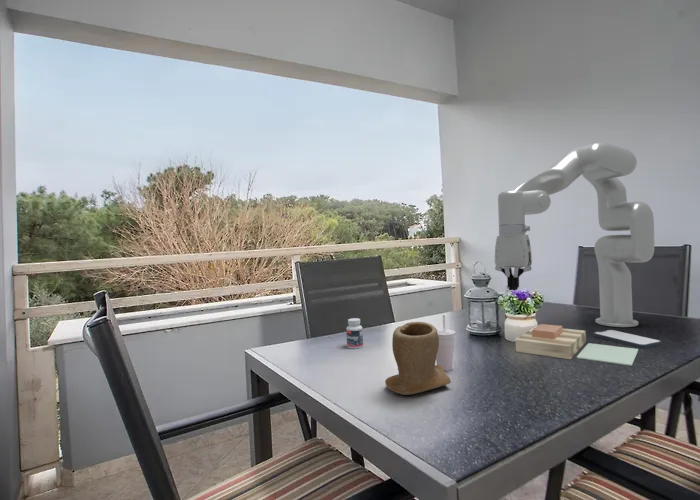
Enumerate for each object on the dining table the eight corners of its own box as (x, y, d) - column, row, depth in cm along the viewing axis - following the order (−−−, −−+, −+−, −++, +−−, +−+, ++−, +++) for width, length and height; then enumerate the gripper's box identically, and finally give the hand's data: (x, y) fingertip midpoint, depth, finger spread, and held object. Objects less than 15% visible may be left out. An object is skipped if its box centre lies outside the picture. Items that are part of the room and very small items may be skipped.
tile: (541, 330, 121) (540, 323, 121) (562, 332, 117) (562, 325, 117) (532, 336, 114) (532, 329, 114) (554, 339, 110) (554, 332, 110)
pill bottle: (344, 348, 125) (343, 320, 124) (350, 344, 129) (349, 317, 129) (360, 349, 123) (358, 321, 122) (365, 344, 127) (364, 318, 127)
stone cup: (405, 405, 80) (402, 333, 79) (379, 386, 91) (376, 322, 90) (465, 391, 85) (462, 323, 85) (434, 375, 96) (431, 315, 96)
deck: (536, 336, 127) (536, 325, 127) (585, 342, 118) (585, 330, 118) (515, 351, 112) (515, 339, 112) (570, 359, 103) (570, 346, 103)
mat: (588, 344, 116) (588, 343, 115) (638, 350, 108) (638, 348, 108) (576, 358, 103) (576, 356, 103) (631, 365, 96) (631, 364, 96)
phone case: (664, 346, 112) (610, 334, 127) (664, 341, 112) (610, 329, 127) (643, 351, 109) (590, 337, 124) (643, 345, 109) (590, 332, 124)
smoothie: (443, 374, 96) (440, 318, 96) (427, 367, 102) (424, 314, 102) (462, 369, 99) (460, 315, 99) (445, 363, 105) (443, 311, 105)
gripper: (541, 229, 118) (542, 289, 119) (492, 232, 128) (494, 287, 129) (533, 229, 113) (535, 292, 113) (483, 232, 123) (485, 289, 123)
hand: (513, 289), depth 121 cm, fingers closed
